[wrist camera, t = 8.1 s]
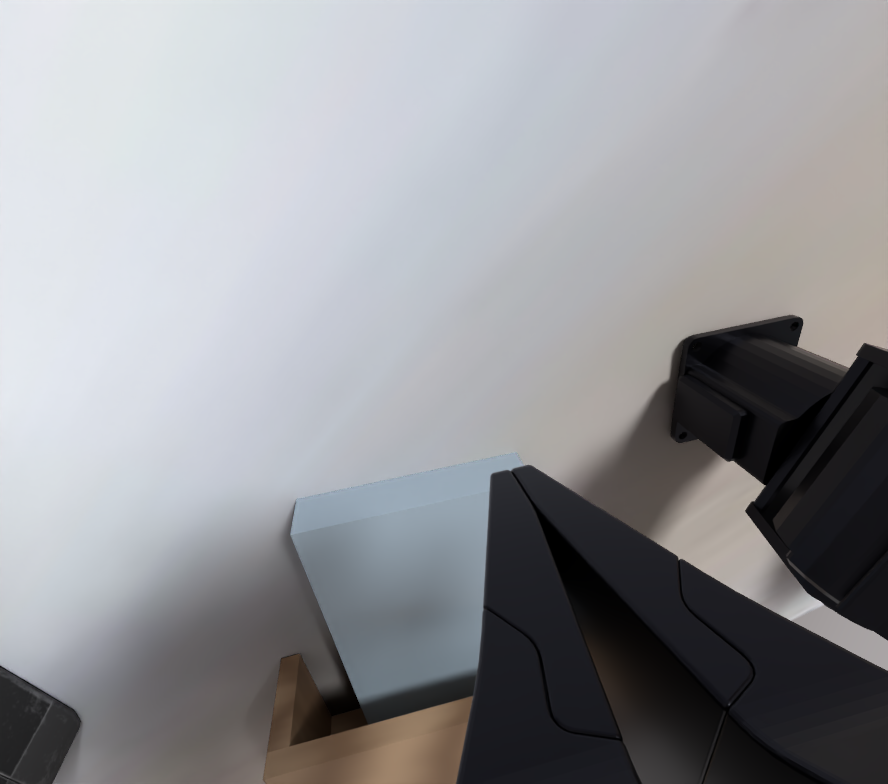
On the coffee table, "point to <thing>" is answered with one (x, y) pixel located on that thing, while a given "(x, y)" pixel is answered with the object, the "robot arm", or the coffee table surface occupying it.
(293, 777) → the tan rectangular block
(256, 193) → the coffee table surface
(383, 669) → the slate tile
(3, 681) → the cash box
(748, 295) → the coffee table surface
